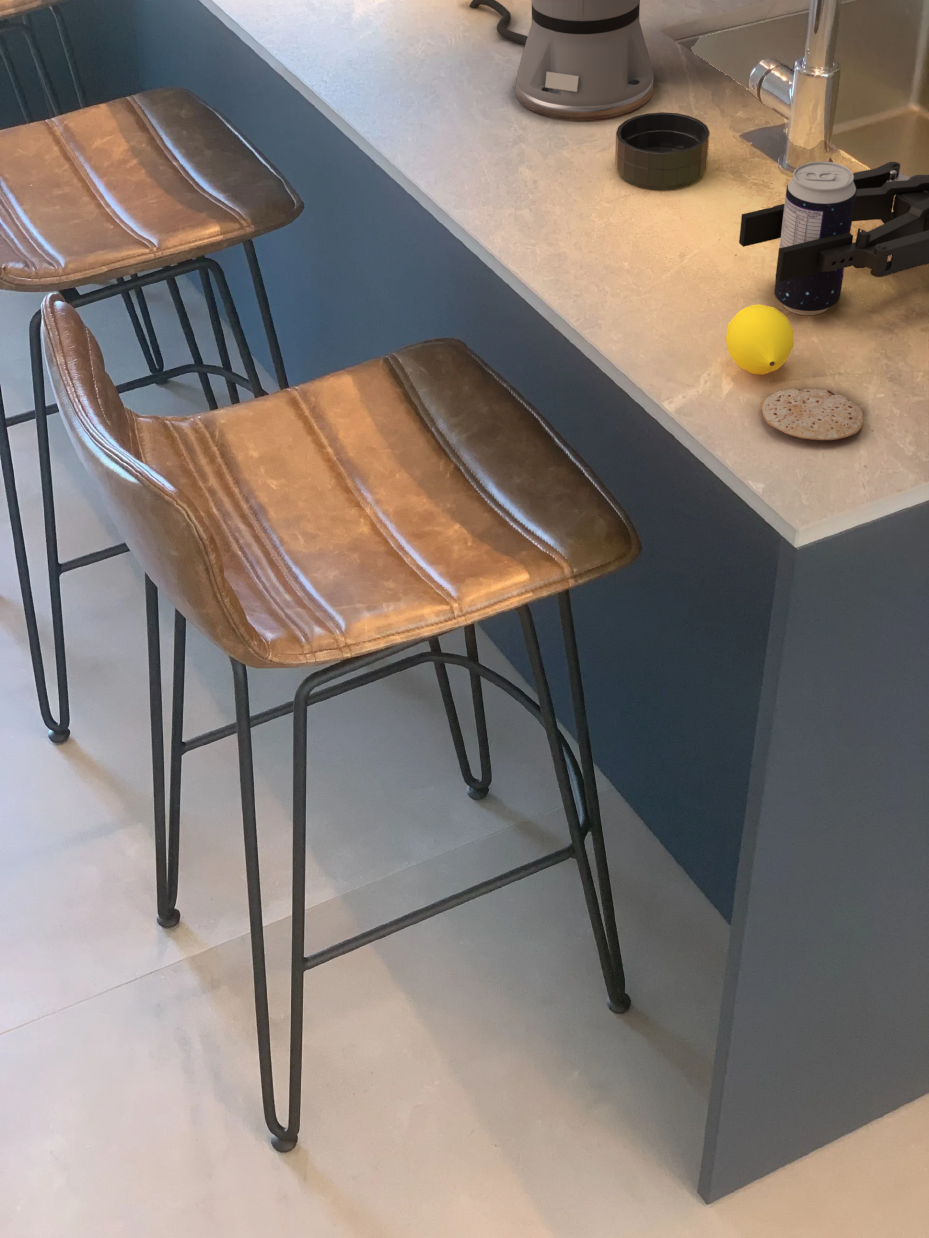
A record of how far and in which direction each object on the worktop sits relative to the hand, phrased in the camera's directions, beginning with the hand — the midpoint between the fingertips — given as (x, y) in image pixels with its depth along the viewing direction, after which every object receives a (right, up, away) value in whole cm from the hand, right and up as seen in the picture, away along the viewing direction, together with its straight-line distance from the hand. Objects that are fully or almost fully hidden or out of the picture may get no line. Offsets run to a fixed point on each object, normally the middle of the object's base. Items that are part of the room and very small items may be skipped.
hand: (761, 247), depth 118 cm
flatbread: (+2, -16, -7) cm, 17 cm away
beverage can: (+5, -4, +6) cm, 9 cm away
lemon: (-1, -11, -1) cm, 11 cm away
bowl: (-5, +14, +25) cm, 29 cm away
